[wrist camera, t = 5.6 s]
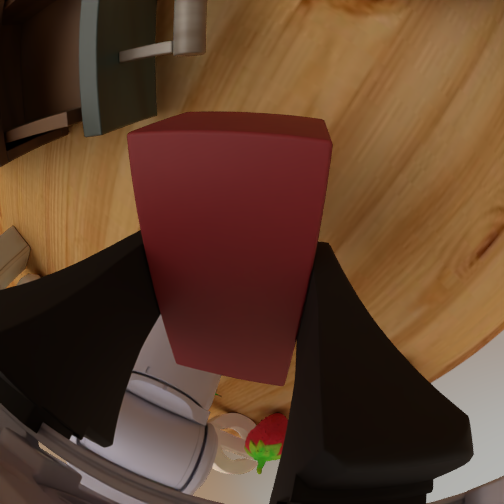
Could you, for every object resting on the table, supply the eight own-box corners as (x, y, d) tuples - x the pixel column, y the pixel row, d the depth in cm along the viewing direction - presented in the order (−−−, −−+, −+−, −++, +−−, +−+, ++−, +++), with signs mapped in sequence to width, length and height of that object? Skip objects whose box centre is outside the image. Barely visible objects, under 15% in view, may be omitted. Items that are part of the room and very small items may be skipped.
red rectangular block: (293, 323, 13) (284, 387, 10) (201, 307, 13) (175, 364, 11) (325, 119, 8) (333, 140, 5) (186, 111, 8) (124, 132, 5)
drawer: (231, -68, 7) (199, -109, 2) (226, 113, 14) (187, 129, 10) (29, 11, 9) (-18, 16, 5) (32, 136, 17) (-14, 159, 12)
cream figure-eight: (143, 365, 34) (114, 424, 26) (149, 361, 33) (118, 424, 25) (259, 428, 40) (247, 480, 32) (268, 426, 39) (256, 480, 31)
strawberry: (242, 410, 36) (226, 469, 28) (275, 399, 32) (261, 469, 24) (272, 422, 38) (260, 479, 29) (306, 413, 33) (297, 478, 25)
